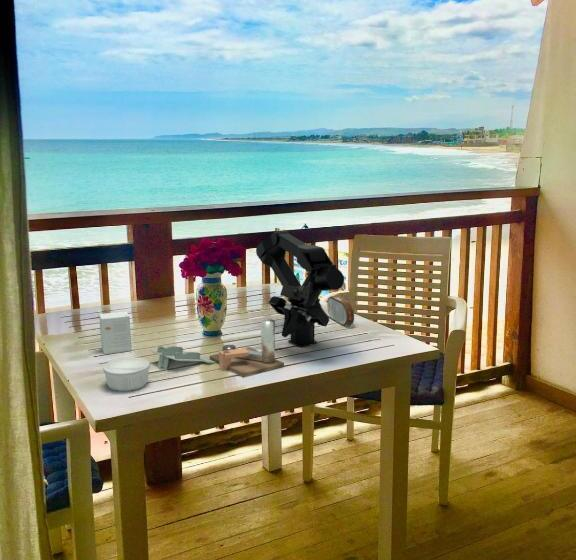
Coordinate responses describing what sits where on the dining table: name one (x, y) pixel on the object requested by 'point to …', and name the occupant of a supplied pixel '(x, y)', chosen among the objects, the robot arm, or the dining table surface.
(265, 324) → the grey cylinder with bar
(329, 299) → the tin
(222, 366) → the block
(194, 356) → the metal bracket
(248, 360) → the board
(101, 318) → the small box
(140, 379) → the ramekin
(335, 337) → the dining table surface
